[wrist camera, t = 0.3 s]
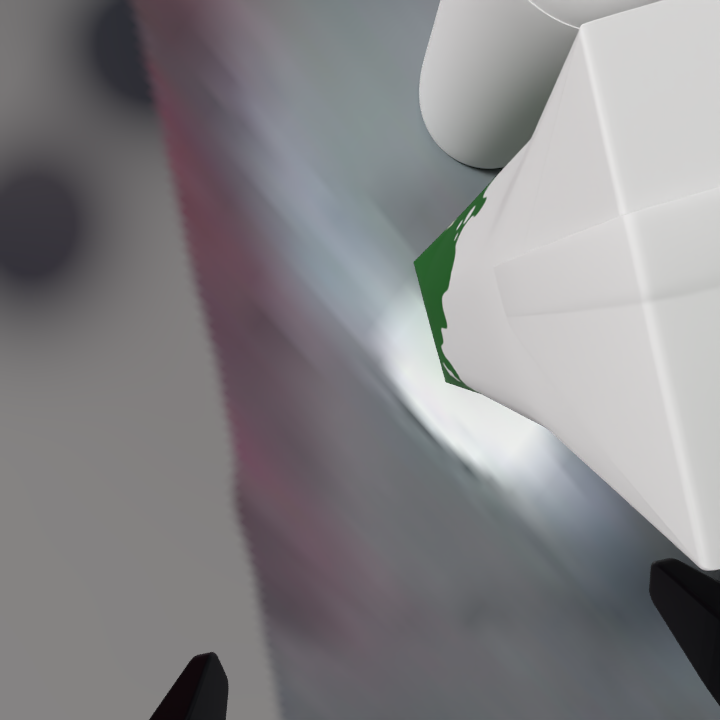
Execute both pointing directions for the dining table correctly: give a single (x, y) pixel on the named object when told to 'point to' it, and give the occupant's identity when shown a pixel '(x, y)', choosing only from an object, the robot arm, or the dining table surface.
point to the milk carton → (606, 269)
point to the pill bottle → (498, 71)
